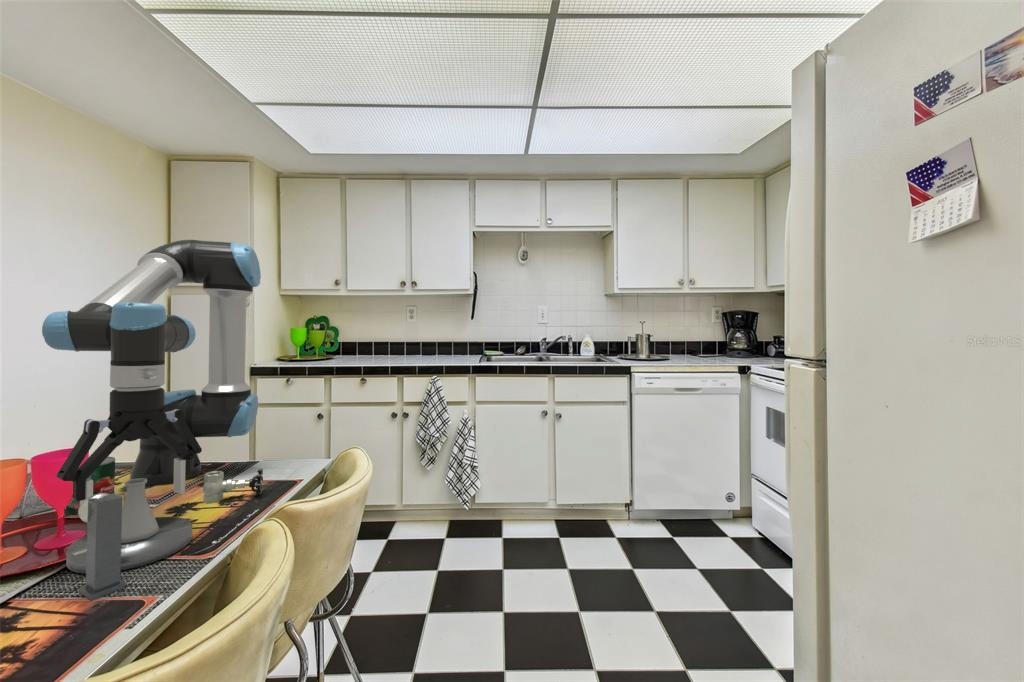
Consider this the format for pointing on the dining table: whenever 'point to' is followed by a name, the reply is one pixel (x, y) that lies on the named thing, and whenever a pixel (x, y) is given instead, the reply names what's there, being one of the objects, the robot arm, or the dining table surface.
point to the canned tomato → (97, 483)
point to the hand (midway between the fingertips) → (136, 504)
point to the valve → (227, 485)
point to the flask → (137, 513)
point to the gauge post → (102, 544)
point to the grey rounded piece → (139, 545)
